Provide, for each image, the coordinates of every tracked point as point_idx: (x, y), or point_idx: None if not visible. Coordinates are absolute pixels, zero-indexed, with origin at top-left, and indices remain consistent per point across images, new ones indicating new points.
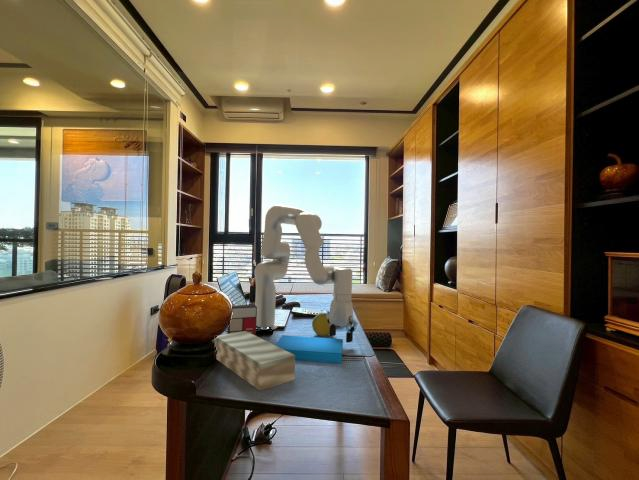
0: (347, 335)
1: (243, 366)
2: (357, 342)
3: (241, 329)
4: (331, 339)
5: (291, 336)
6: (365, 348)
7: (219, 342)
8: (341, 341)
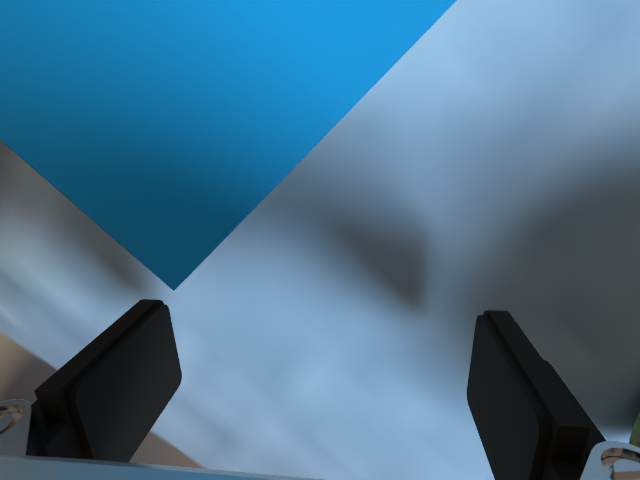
0: (75, 358)
1: None
2: (275, 460)
3: None
4: (246, 123)
5: None
6: None
7: None
8: (91, 195)
